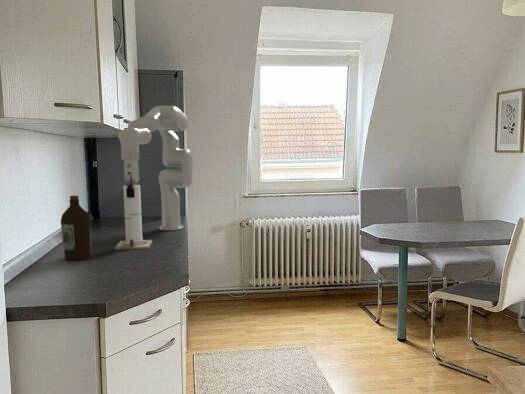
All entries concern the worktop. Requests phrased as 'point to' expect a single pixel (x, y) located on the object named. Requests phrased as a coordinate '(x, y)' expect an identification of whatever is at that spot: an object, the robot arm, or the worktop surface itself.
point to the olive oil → (76, 231)
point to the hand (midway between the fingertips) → (132, 196)
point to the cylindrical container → (133, 215)
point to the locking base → (133, 245)
